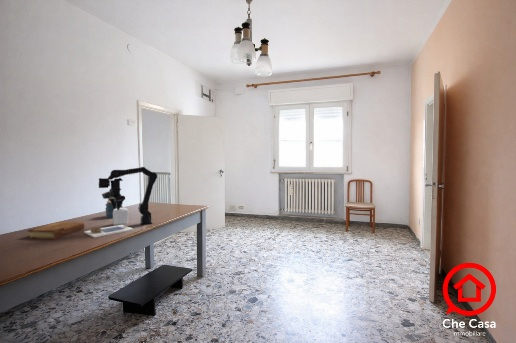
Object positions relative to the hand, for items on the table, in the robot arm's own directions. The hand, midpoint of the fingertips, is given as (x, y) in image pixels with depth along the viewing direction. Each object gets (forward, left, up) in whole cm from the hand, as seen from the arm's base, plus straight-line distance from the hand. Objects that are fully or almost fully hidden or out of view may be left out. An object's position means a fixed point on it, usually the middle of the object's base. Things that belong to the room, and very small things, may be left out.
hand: (115, 209), depth 189 cm
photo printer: (-6, -8, -13) cm, 17 cm away
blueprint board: (+8, +8, -13) cm, 17 cm away
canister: (-13, -36, -13) cm, 41 cm away
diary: (+32, -12, -14) cm, 37 cm away
